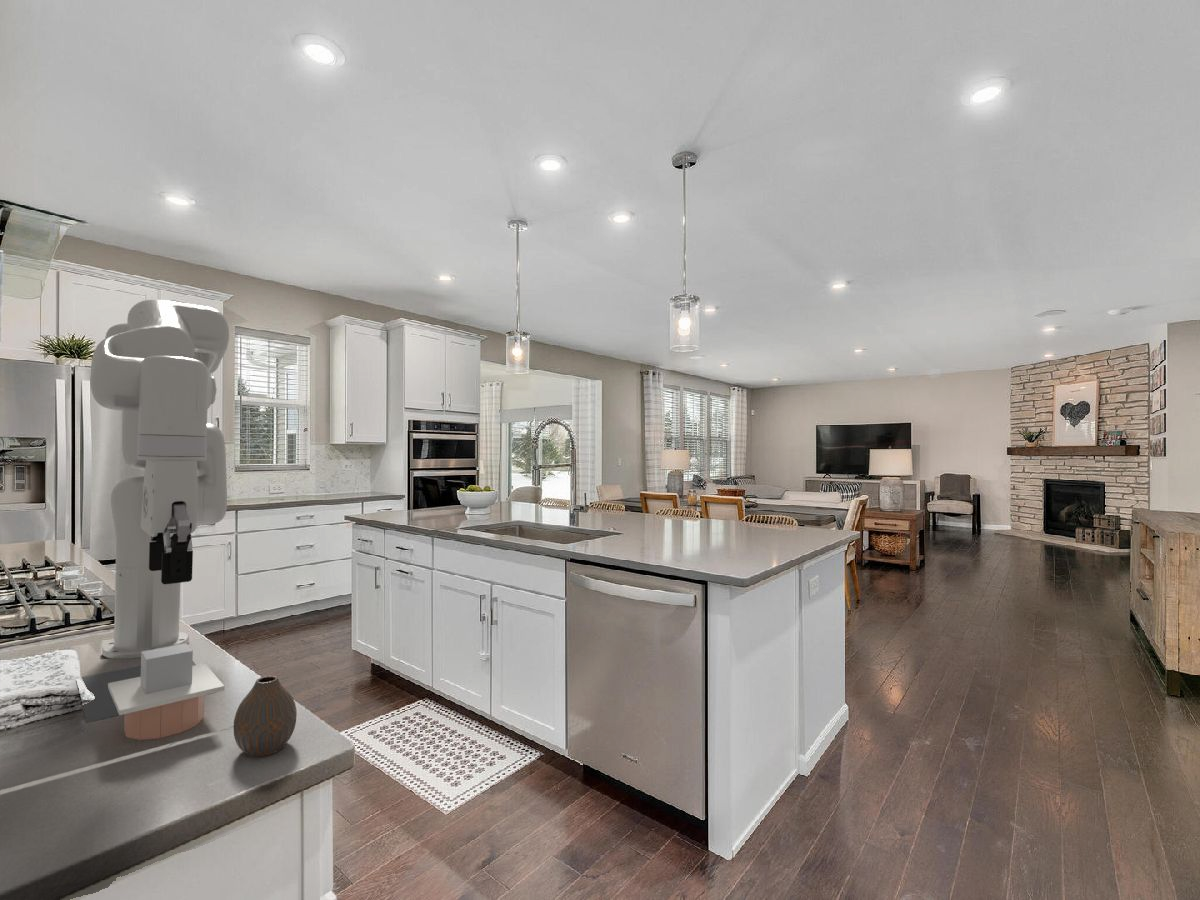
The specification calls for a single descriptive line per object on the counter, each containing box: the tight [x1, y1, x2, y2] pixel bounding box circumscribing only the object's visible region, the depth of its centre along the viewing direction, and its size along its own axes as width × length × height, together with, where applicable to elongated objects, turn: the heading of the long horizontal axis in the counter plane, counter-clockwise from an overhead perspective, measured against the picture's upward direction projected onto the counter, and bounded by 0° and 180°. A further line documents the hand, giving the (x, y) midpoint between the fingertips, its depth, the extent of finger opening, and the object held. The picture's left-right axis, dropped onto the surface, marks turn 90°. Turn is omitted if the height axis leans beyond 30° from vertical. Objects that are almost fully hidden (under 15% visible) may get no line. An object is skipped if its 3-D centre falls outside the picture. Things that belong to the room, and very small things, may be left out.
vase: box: [233, 675, 298, 757], centre depth 74 cm, size 7×7×9 cm
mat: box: [81, 660, 217, 724], centre depth 91 cm, size 20×15×1 cm
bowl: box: [123, 695, 205, 741], centre depth 79 cm, size 8×8×5 cm
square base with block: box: [108, 643, 225, 716], centre depth 79 cm, size 11×11×5 cm
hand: (169, 575), depth 79 cm, fingers open, 9 cm apart
